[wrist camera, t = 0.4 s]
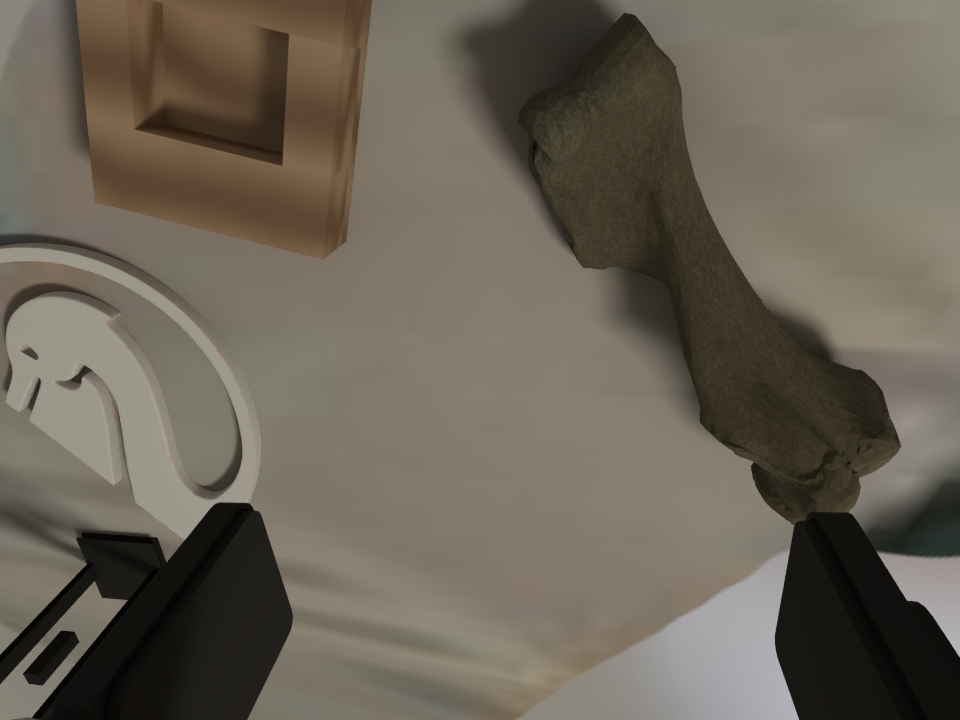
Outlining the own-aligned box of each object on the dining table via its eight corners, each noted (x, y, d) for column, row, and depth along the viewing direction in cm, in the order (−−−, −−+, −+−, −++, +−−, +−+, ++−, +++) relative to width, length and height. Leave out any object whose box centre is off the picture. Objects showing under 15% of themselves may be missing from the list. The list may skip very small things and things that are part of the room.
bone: (474, 116, 28) (782, 597, 32) (677, -40, 25) (986, 514, 29) (500, 133, 38) (737, 504, 42) (650, 21, 34) (888, 434, 39)
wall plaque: (206, 559, 52) (-109, 314, 45) (215, 546, 54) (-89, 307, 46) (340, 452, 45) (-10, 139, 37) (347, 440, 46) (11, 136, 39)
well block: (120, -114, 31) (62, -137, 28) (377, -53, 31) (352, -68, 27) (138, 189, 39) (94, 202, 35) (346, 241, 38) (323, 259, 35)
